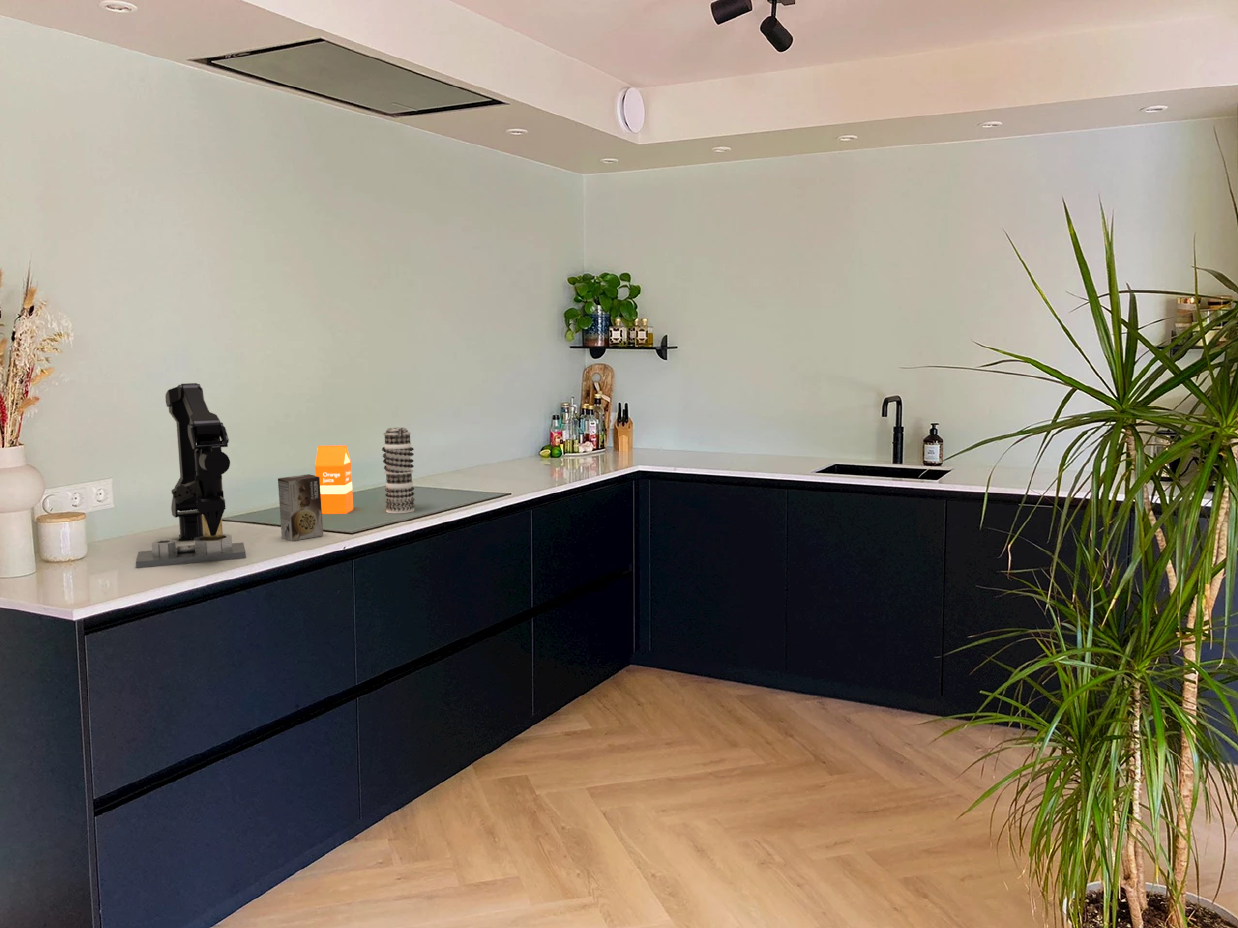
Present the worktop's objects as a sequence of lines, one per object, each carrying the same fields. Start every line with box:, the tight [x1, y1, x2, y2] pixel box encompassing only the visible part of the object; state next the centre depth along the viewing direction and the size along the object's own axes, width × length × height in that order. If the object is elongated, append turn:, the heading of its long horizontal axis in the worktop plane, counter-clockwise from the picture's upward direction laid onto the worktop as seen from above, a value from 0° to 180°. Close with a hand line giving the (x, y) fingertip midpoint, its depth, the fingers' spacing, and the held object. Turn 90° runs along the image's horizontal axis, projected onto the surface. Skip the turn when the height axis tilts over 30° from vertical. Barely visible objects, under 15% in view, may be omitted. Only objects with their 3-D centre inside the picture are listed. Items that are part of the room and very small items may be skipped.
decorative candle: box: [381, 427, 416, 514], centre depth 305 cm, size 9×9×25 cm
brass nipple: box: [202, 514, 224, 540], centre depth 248 cm, size 4×4×8 cm
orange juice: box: [314, 445, 354, 515], centre depth 306 cm, size 8×9×20 cm
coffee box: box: [277, 473, 324, 542], centre depth 269 cm, size 9×6×16 cm
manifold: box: [135, 533, 247, 569], centre depth 247 cm, size 12×24×4 cm, turn 113°
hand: (212, 533), depth 248 cm, fingers open, 5 cm apart
